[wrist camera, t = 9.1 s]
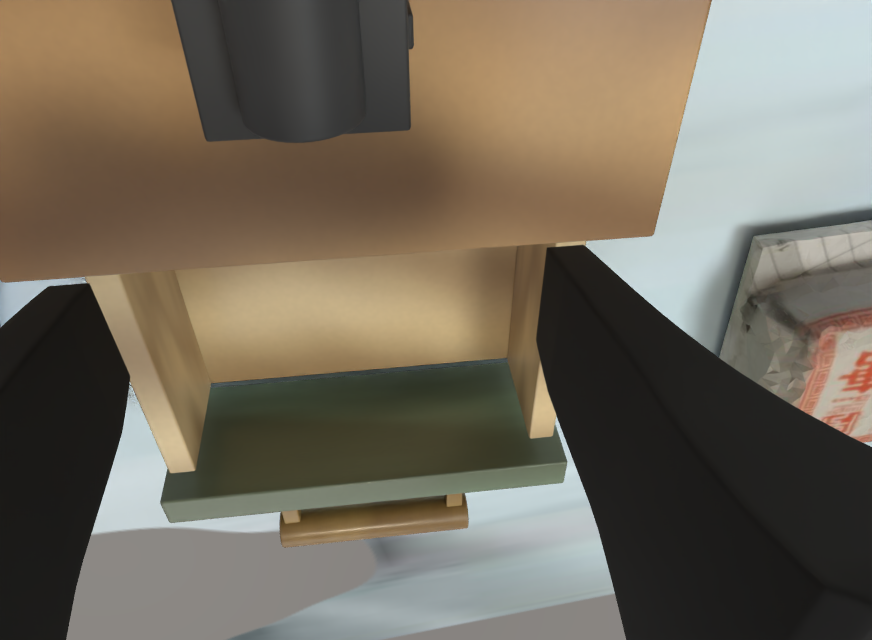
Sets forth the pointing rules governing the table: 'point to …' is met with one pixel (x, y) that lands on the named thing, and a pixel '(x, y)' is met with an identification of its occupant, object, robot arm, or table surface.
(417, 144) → the cabinet
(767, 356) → the packaged product
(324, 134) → the clip
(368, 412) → the drawer
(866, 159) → the table surface
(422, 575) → the table surface
